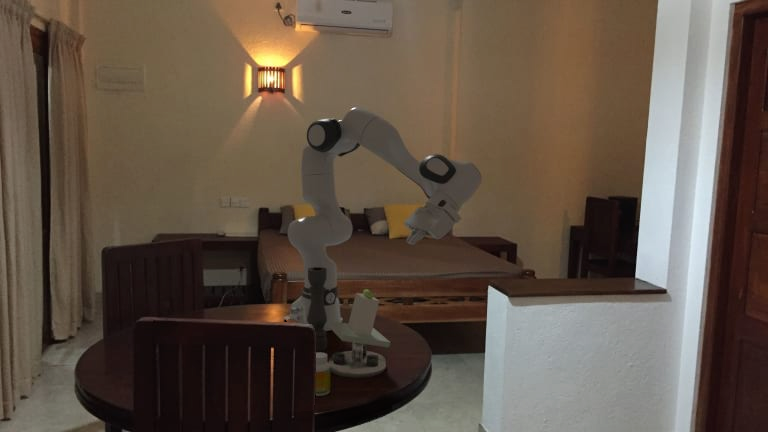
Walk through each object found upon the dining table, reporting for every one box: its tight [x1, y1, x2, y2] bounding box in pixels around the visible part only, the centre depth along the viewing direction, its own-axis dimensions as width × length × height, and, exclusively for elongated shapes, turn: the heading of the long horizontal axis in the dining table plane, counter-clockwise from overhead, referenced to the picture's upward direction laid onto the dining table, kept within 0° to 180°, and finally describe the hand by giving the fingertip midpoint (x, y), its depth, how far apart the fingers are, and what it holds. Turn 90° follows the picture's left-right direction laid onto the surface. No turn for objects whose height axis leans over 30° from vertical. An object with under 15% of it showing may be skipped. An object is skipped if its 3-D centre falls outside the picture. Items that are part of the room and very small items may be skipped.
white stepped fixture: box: [328, 288, 391, 348], centre depth 159 cm, size 14×14×13 cm
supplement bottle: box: [315, 351, 331, 397], centre depth 142 cm, size 5×5×10 cm
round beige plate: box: [328, 342, 387, 379], centre depth 159 cm, size 16×16×8 cm
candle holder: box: [307, 267, 328, 353], centre depth 173 cm, size 6×6×25 cm
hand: (409, 243), depth 162 cm, fingers closed
